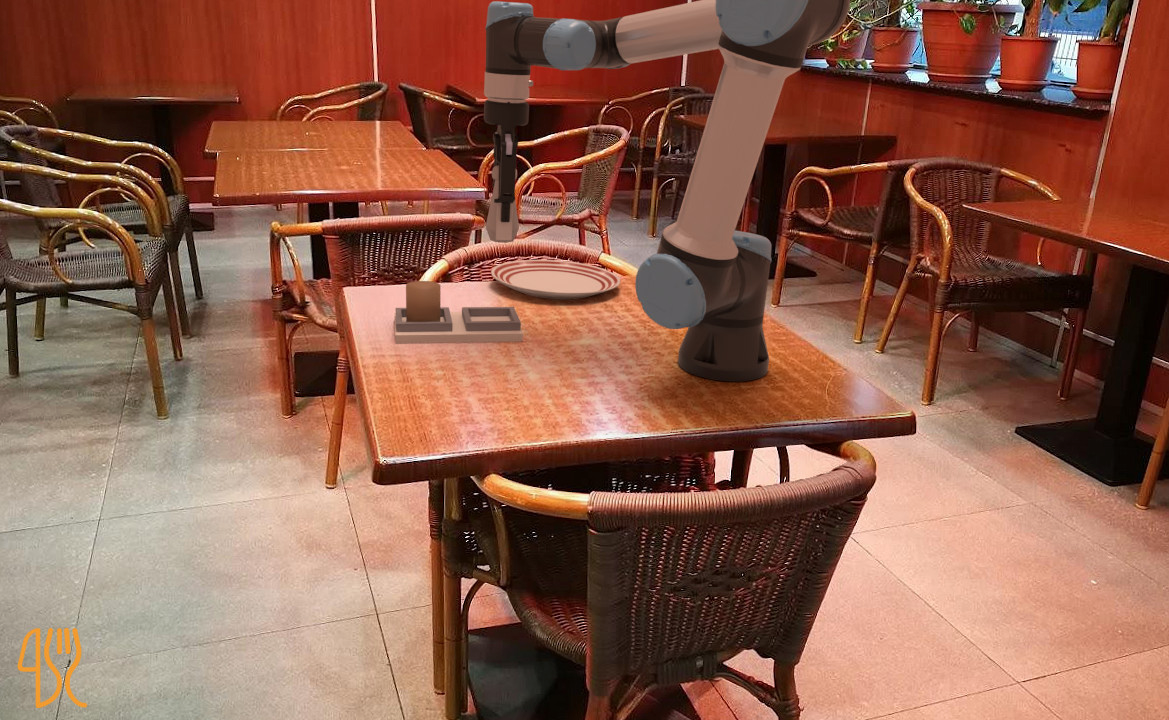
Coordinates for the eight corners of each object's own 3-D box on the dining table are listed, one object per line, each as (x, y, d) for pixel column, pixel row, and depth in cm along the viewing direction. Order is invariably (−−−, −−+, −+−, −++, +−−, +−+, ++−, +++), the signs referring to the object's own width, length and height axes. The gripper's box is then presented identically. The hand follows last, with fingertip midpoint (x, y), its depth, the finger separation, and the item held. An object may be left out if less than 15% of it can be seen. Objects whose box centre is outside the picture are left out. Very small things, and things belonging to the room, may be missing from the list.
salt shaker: (481, 236, 168) (483, 163, 164) (511, 235, 171) (514, 163, 166) (491, 244, 163) (494, 168, 159) (523, 243, 166) (526, 168, 161)
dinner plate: (595, 270, 218) (596, 256, 217) (638, 304, 194) (639, 288, 193) (478, 274, 210) (478, 259, 209) (508, 309, 185) (508, 293, 184)
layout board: (522, 341, 167) (524, 295, 164) (395, 343, 162) (394, 295, 159) (513, 319, 179) (514, 275, 176) (394, 320, 174) (393, 275, 171)
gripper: (536, 106, 151) (529, 248, 159) (522, 95, 168) (517, 224, 176) (489, 104, 149) (484, 247, 157) (480, 93, 167) (476, 223, 175)
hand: (502, 235), depth 167 cm, fingers closed on salt shaker, 6 cm apart
